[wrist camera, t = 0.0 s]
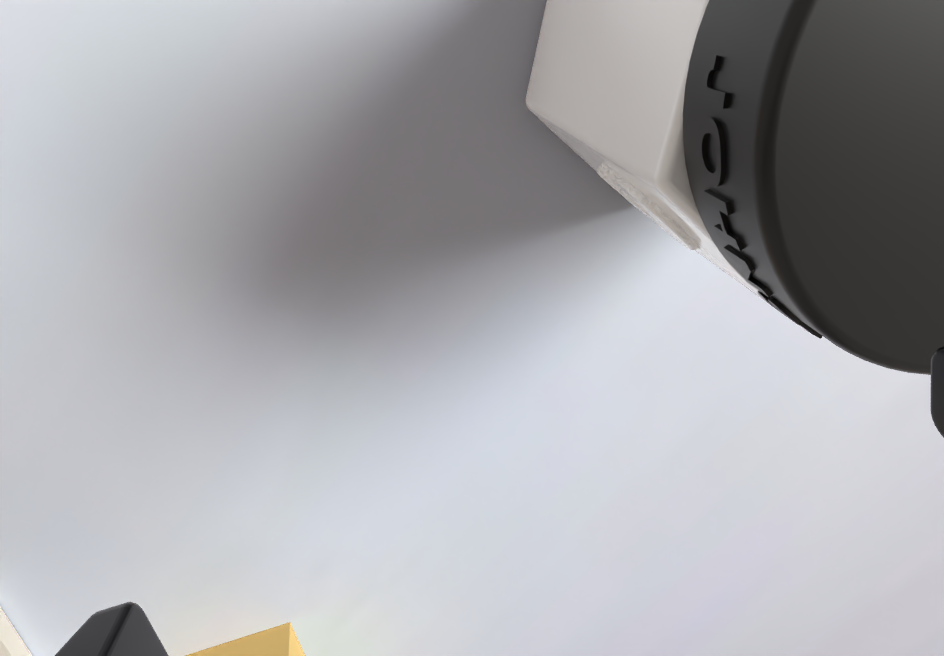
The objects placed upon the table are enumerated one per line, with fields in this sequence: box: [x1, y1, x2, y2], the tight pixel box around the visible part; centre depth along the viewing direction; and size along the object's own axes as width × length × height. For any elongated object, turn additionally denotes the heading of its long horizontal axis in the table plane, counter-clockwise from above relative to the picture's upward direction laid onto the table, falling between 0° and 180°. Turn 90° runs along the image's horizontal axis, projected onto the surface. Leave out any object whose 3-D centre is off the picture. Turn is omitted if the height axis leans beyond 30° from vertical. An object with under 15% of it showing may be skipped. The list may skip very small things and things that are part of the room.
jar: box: [526, 0, 944, 375], centre depth 17 cm, size 9×8×12 cm
